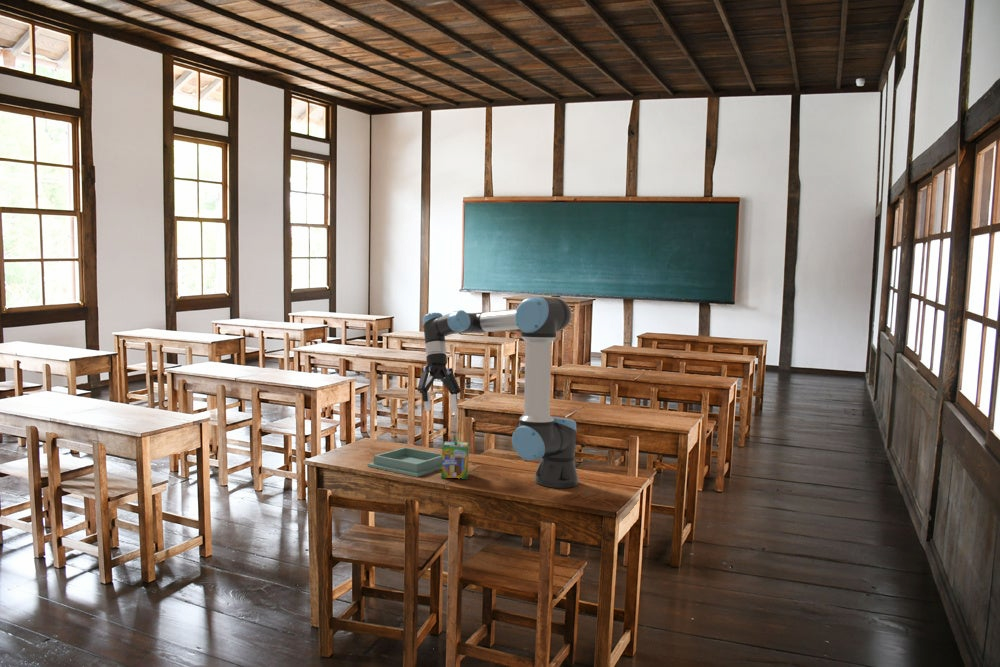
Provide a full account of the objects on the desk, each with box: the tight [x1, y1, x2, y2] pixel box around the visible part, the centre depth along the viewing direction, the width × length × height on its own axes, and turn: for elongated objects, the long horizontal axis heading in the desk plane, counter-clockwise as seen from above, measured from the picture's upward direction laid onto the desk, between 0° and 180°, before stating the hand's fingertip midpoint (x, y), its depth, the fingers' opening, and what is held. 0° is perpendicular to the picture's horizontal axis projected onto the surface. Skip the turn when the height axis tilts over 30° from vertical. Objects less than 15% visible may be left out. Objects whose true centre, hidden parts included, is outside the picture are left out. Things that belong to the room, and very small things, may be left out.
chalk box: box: [440, 433, 470, 480], centre depth 264 cm, size 9×9×15 cm
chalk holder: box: [367, 446, 442, 478], centre depth 275 cm, size 22×22×4 cm
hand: (441, 411), depth 273 cm, fingers open, 13 cm apart
